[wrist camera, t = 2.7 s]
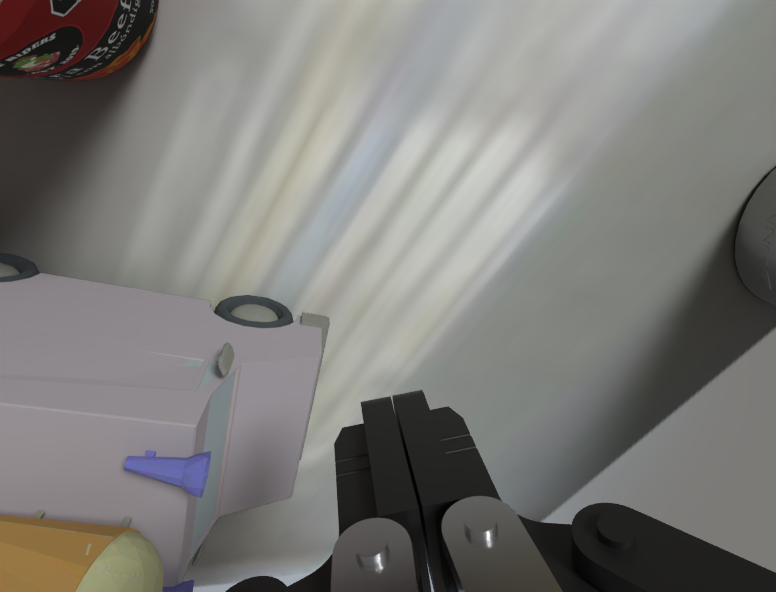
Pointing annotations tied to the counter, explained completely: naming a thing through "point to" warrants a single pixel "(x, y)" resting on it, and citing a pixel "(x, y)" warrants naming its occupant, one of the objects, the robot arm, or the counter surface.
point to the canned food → (71, 36)
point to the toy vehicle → (139, 426)
